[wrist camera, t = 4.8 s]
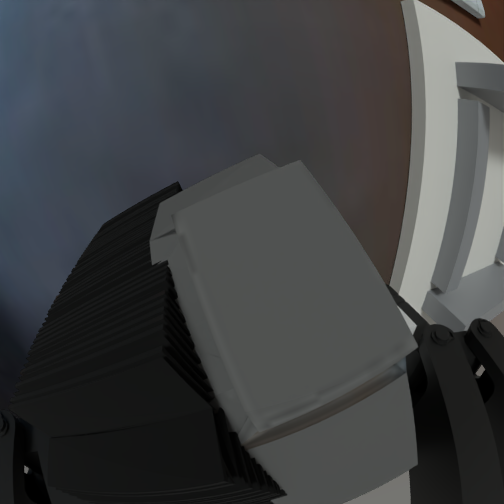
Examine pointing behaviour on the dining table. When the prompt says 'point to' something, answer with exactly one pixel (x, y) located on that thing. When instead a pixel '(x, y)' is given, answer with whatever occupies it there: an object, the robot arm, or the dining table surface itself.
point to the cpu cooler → (223, 353)
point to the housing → (452, 175)
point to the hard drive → (472, 7)
